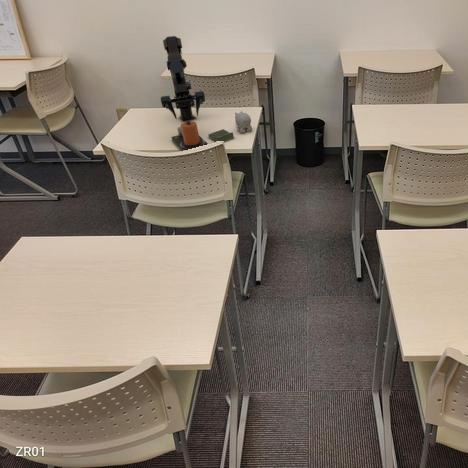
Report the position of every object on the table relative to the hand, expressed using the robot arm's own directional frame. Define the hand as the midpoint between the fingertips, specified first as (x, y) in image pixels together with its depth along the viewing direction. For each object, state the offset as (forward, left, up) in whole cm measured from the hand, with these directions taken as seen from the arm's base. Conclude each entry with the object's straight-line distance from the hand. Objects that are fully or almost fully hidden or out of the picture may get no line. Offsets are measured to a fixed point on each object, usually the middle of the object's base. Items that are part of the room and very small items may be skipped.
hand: (186, 117), depth 210 cm
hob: (+1, -1, -12) cm, 12 cm away
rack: (+4, +13, -12) cm, 18 cm away
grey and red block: (-5, -1, -10) cm, 11 cm away
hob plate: (+6, -1, -10) cm, 11 cm away
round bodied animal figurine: (+1, +25, -12) cm, 28 cm away
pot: (+5, -1, -9) cm, 11 cm away
